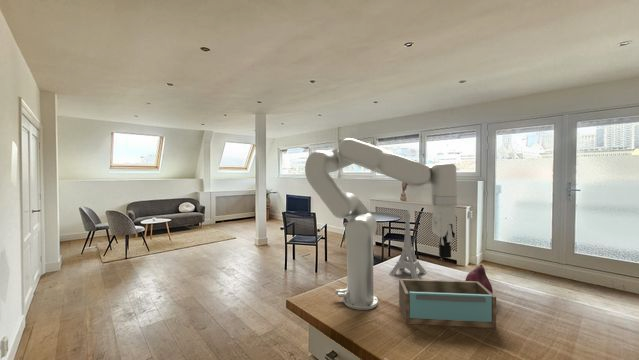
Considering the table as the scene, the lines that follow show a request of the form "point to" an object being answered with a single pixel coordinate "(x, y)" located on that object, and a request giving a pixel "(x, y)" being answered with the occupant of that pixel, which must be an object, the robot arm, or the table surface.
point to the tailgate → (450, 306)
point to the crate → (443, 287)
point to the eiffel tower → (411, 261)
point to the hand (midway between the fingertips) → (445, 256)
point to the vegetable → (479, 277)
